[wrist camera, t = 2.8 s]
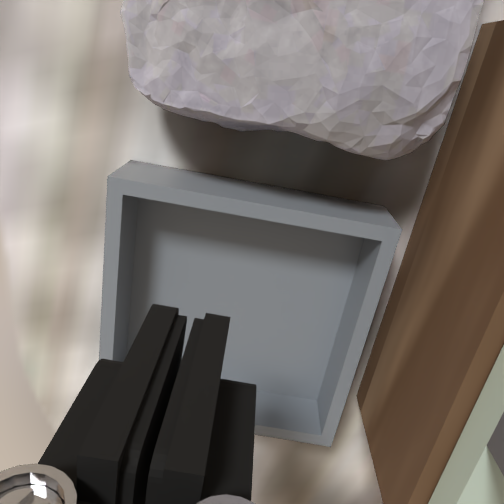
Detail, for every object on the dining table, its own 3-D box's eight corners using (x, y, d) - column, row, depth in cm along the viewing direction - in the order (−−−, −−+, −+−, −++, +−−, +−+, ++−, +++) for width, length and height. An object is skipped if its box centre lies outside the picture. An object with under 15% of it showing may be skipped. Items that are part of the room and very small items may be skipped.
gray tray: (384, 206, 17) (402, 229, 14) (324, 402, 20) (330, 447, 18) (131, 160, 16) (107, 176, 14) (117, 368, 20) (96, 408, 18)
